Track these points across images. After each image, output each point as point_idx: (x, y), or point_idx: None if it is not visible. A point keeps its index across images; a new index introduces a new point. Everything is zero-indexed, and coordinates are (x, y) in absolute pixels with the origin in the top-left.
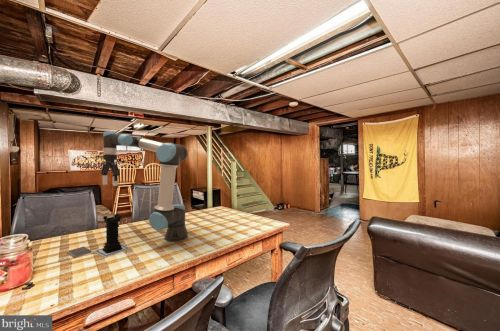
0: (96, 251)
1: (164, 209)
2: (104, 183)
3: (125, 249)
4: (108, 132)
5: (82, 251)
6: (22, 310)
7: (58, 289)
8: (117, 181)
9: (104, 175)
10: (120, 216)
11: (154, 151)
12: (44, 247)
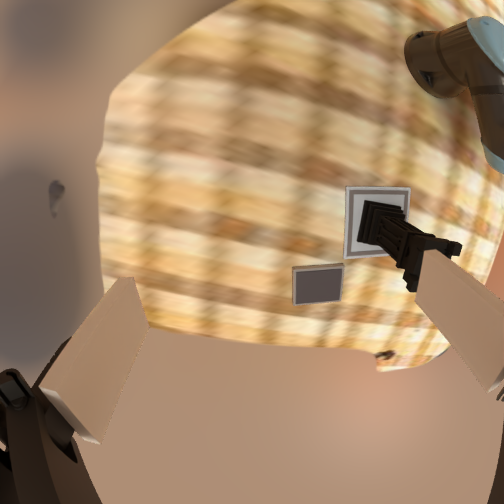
0: (355, 255)
1: None
2: (139, 325)
3: (407, 201)
4: None
5: (335, 284)
6: (433, 354)
7: (432, 329)
8: (472, 279)
9: (91, 431)
10: (461, 247)
11: None
12: (186, 323)
